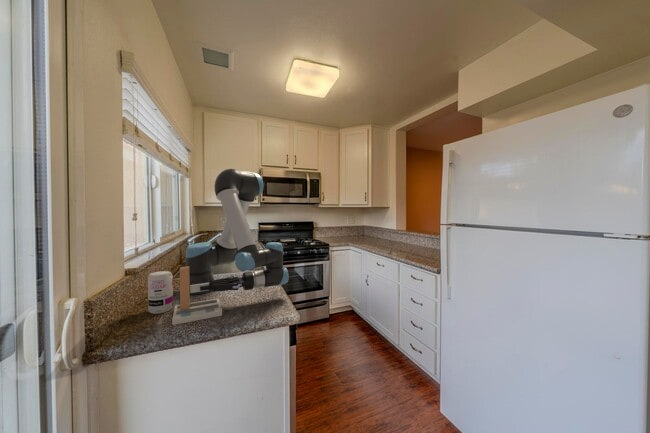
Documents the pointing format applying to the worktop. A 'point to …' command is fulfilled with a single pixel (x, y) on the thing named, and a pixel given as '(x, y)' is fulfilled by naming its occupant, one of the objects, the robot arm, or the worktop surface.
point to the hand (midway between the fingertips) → (190, 289)
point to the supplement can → (160, 292)
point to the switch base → (197, 311)
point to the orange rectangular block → (184, 288)
